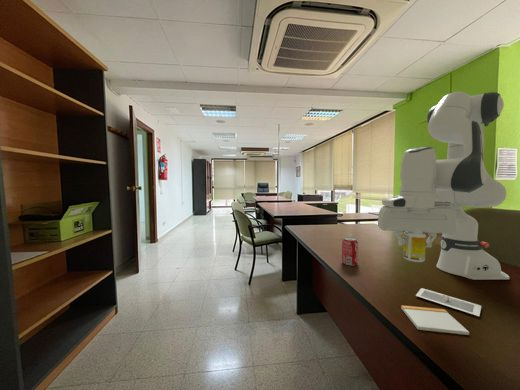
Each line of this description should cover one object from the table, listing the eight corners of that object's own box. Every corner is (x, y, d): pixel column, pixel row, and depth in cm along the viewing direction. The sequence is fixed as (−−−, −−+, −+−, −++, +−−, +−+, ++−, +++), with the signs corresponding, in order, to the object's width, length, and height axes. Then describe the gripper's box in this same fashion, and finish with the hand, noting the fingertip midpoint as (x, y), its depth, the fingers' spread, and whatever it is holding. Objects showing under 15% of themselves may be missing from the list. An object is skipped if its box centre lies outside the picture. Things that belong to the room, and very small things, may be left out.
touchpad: (479, 320, 61) (479, 312, 61) (415, 298, 72) (415, 292, 72) (481, 309, 66) (481, 302, 66) (421, 290, 78) (421, 285, 77)
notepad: (444, 312, 64) (444, 309, 64) (469, 335, 55) (469, 331, 55) (401, 308, 66) (401, 305, 66) (417, 329, 57) (417, 325, 57)
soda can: (355, 261, 105) (355, 236, 105) (360, 266, 98) (360, 240, 98) (339, 260, 106) (340, 236, 105) (344, 266, 99) (344, 240, 98)
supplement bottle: (429, 261, 66) (430, 227, 65) (417, 263, 63) (419, 229, 63) (409, 255, 71) (411, 224, 70) (398, 257, 68) (400, 225, 68)
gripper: (449, 201, 67) (446, 245, 68) (376, 199, 71) (375, 241, 72) (463, 202, 61) (461, 251, 61) (383, 201, 65) (381, 246, 66)
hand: (414, 246), depth 67 cm, fingers closed on supplement bottle, 6 cm apart
